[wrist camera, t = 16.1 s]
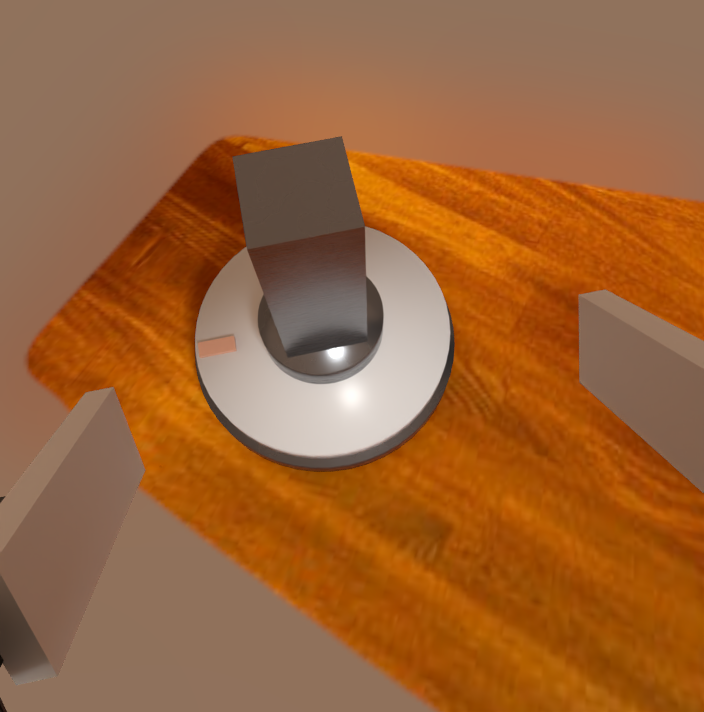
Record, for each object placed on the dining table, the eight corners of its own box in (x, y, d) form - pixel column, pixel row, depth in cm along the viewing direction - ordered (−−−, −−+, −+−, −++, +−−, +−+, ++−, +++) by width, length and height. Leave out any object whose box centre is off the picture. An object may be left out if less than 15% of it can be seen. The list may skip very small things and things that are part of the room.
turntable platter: (414, 214, 42) (416, 199, 40) (477, 429, 36) (482, 421, 34) (191, 256, 41) (183, 242, 40) (214, 483, 35) (206, 478, 33)
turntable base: (417, 221, 44) (419, 209, 42) (482, 441, 37) (486, 436, 36) (190, 264, 43) (184, 253, 42) (214, 497, 36) (208, 493, 35)
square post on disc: (368, 265, 39) (367, 106, 26) (395, 370, 36) (408, 249, 23) (255, 287, 38) (196, 137, 25) (272, 395, 35) (215, 287, 22)
